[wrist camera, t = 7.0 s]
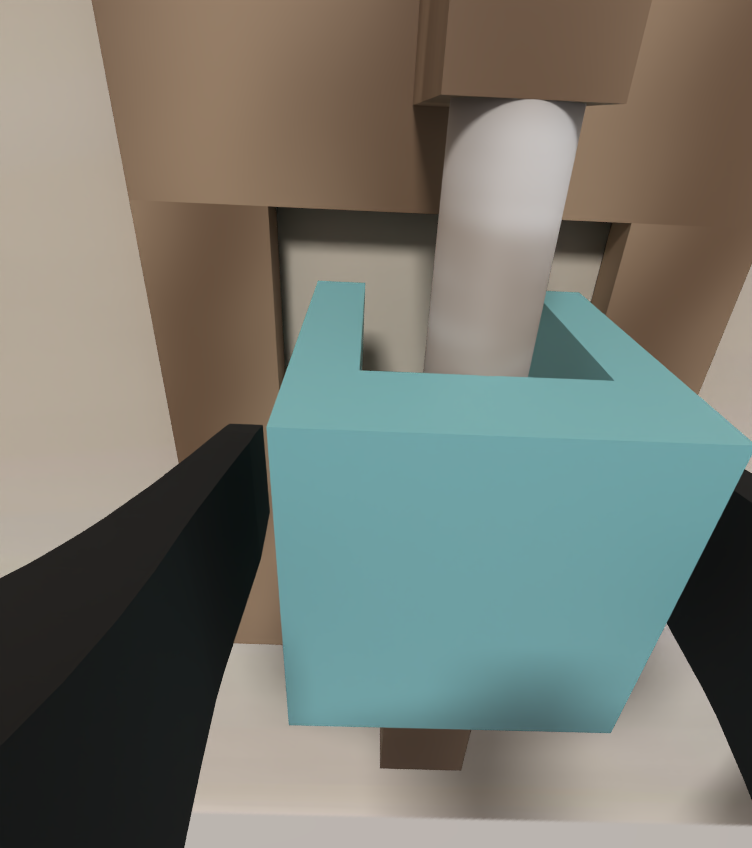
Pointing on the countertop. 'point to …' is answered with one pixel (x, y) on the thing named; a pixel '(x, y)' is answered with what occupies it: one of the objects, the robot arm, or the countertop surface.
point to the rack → (428, 186)
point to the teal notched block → (485, 525)
